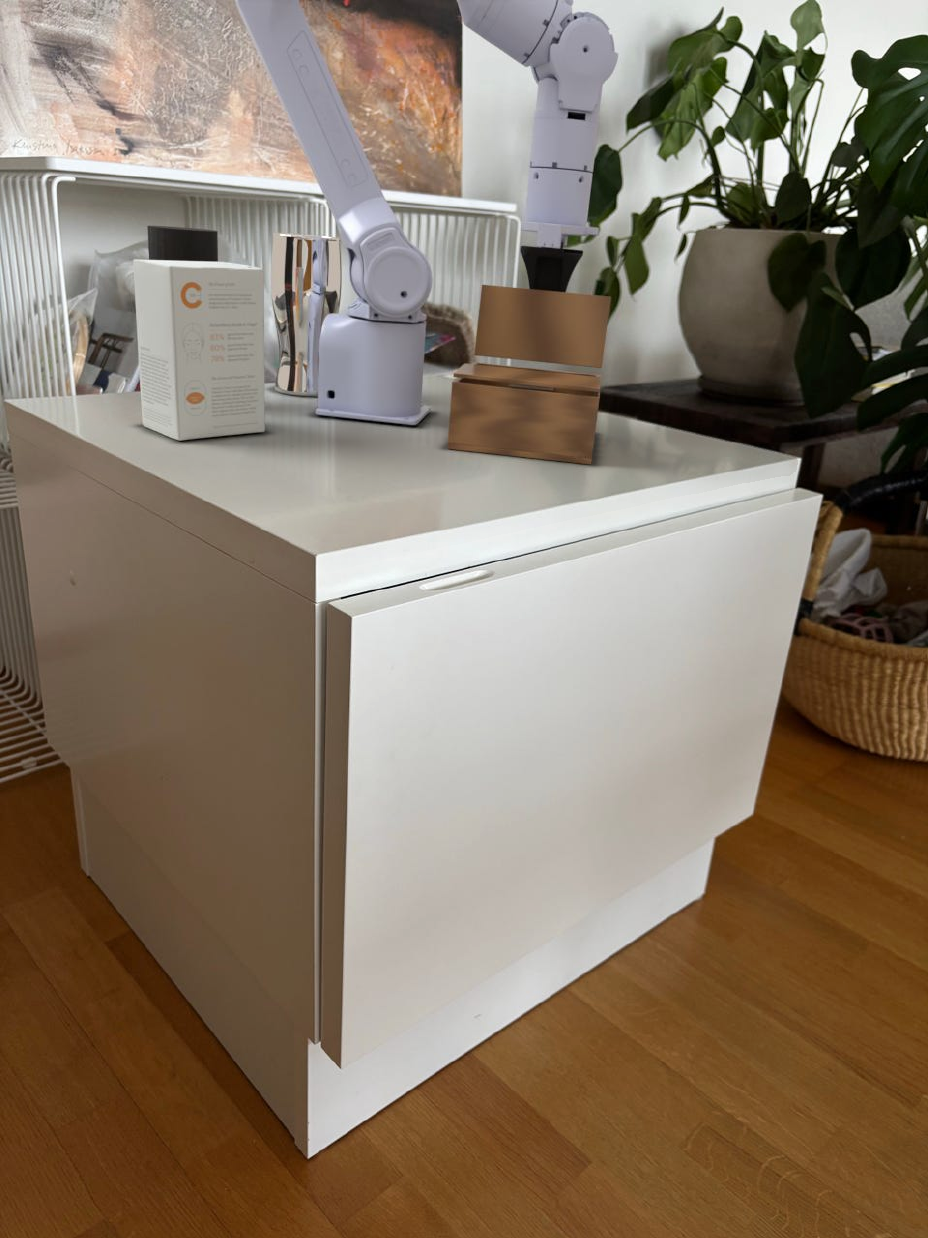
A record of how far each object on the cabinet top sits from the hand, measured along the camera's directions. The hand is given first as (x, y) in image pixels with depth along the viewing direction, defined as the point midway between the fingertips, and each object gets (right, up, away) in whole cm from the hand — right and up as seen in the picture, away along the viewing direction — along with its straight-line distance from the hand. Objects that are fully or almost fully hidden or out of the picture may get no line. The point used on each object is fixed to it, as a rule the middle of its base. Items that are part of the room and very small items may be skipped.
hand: (543, 328), depth 92 cm
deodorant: (-33, -7, -1) cm, 34 cm away
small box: (-29, -12, -12) cm, 34 cm away
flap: (0, -1, -3) cm, 3 cm away
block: (-2, -10, -3) cm, 11 cm away
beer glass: (-24, -4, +8) cm, 26 cm away
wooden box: (-2, -12, -6) cm, 13 cm away
